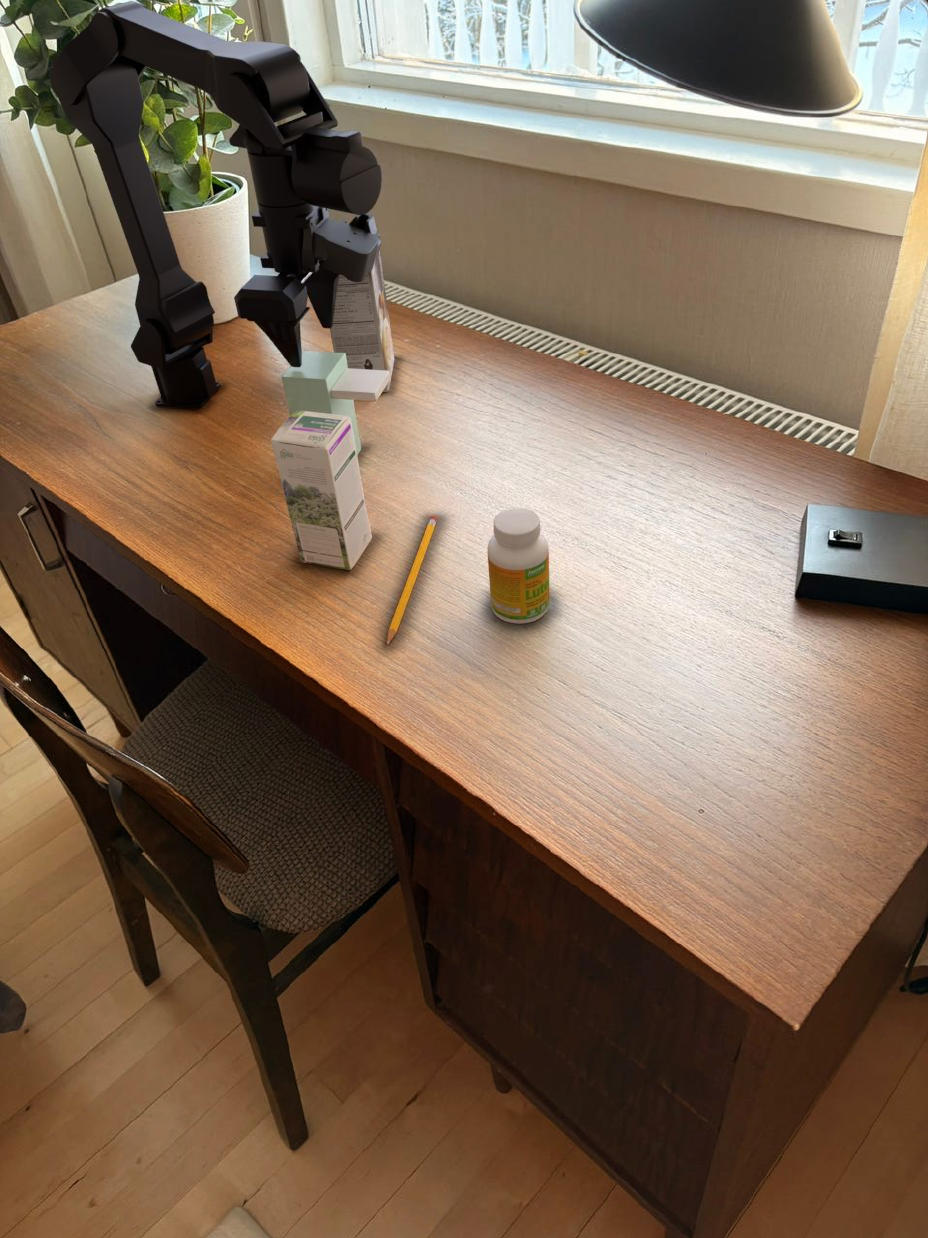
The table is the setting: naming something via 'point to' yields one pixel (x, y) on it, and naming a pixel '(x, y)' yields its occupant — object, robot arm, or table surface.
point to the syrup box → (323, 488)
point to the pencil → (411, 579)
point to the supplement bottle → (518, 567)
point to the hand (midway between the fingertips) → (312, 346)
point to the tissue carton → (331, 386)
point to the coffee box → (363, 322)
